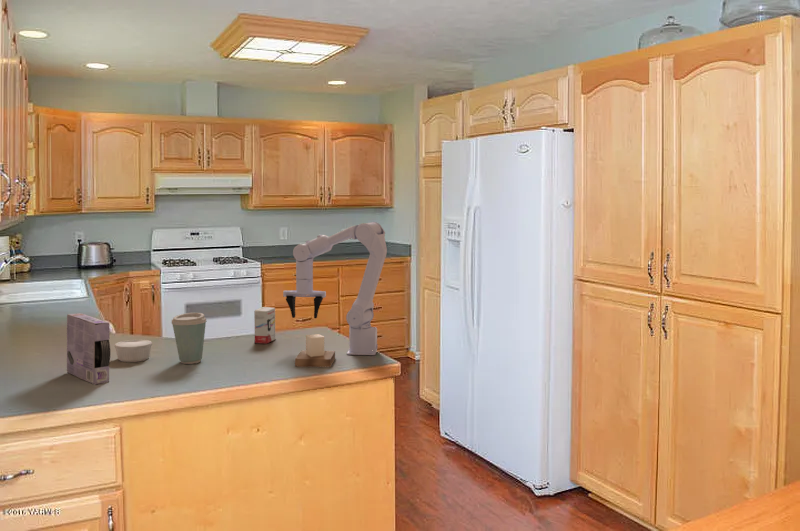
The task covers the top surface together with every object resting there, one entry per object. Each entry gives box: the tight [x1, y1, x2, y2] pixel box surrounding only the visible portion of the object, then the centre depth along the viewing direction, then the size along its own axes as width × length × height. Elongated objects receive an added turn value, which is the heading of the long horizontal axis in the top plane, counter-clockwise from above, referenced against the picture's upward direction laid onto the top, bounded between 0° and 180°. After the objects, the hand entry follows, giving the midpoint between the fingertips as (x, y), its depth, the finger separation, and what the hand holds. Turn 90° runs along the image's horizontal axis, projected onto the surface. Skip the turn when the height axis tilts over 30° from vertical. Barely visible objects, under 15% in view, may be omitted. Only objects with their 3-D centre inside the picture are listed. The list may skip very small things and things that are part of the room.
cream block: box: [305, 333, 325, 357], centre depth 222 cm, size 4×4×6 cm
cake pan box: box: [66, 312, 111, 386], centre depth 201 cm, size 19×5×18 cm, turn 48°
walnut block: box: [294, 349, 336, 368], centre depth 222 cm, size 11×11×3 cm
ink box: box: [253, 306, 276, 345], centre depth 251 cm, size 9×5×12 cm, turn 168°
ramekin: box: [114, 339, 153, 363], centre depth 224 cm, size 11×11×5 cm
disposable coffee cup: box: [171, 312, 207, 365], centre depth 220 cm, size 11×11×15 cm
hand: (304, 317), depth 242 cm, fingers open, 7 cm apart
